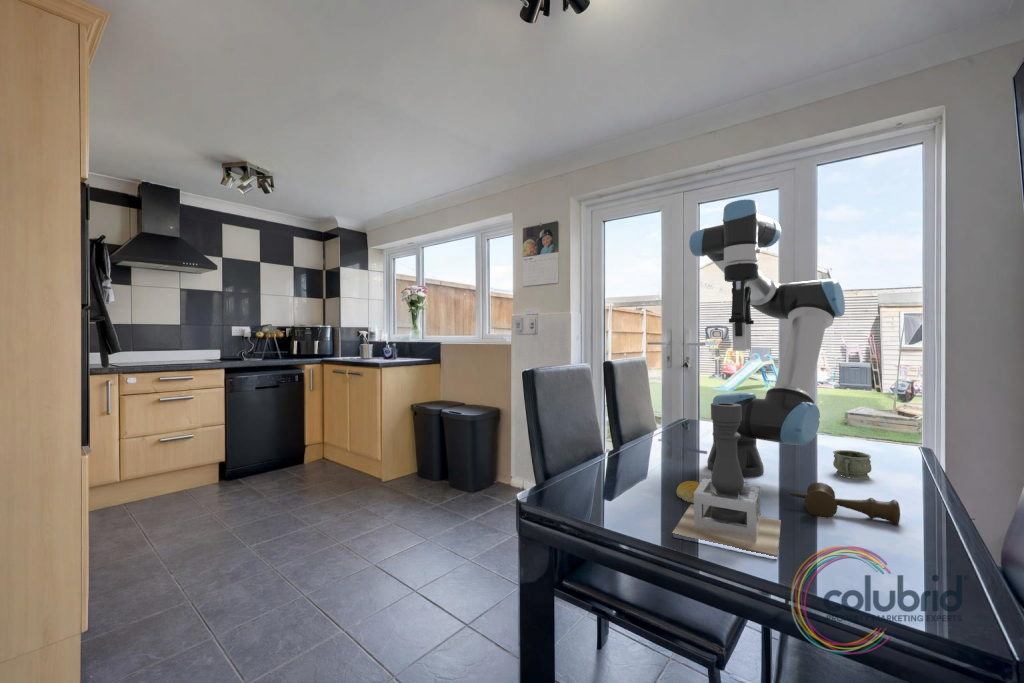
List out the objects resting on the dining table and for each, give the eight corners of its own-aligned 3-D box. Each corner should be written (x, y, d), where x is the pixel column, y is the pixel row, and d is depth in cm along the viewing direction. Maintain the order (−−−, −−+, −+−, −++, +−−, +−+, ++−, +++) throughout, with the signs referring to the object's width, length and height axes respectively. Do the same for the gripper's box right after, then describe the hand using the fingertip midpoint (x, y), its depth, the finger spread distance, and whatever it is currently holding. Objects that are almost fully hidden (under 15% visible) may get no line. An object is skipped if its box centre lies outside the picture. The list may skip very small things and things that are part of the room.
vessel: (839, 468, 134) (839, 447, 134) (877, 474, 127) (876, 452, 127) (827, 476, 126) (826, 454, 126) (865, 483, 120) (865, 460, 120)
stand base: (690, 508, 103) (690, 504, 103) (780, 524, 94) (780, 520, 94) (672, 537, 88) (672, 532, 88) (777, 560, 78) (777, 555, 78)
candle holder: (710, 529, 90) (708, 405, 90) (712, 518, 95) (710, 401, 95) (744, 534, 87) (742, 407, 87) (745, 523, 92) (743, 403, 92)
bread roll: (699, 491, 116) (699, 476, 116) (720, 503, 107) (719, 487, 107) (669, 493, 115) (669, 478, 115) (688, 505, 106) (687, 489, 106)
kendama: (902, 535, 89) (786, 511, 101) (896, 520, 97) (789, 500, 109) (903, 505, 89) (787, 485, 101) (896, 493, 97) (789, 475, 109)
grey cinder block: (704, 512, 98) (703, 478, 99) (760, 522, 92) (760, 486, 93) (694, 530, 89) (693, 492, 89) (756, 542, 83) (755, 502, 83)
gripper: (753, 254, 97) (755, 351, 97) (761, 269, 118) (763, 348, 118) (716, 258, 101) (718, 351, 101) (730, 272, 122) (732, 349, 122)
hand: (742, 350), depth 110 cm, fingers open, 13 cm apart
